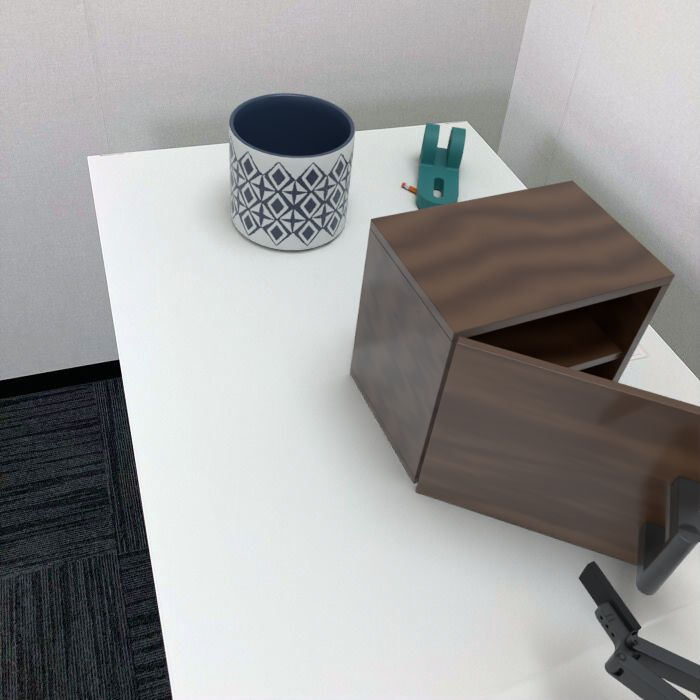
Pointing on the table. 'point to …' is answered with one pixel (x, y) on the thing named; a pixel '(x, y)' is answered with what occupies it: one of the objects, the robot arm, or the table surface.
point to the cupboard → (495, 298)
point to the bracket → (439, 167)
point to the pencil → (409, 187)
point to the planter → (290, 170)
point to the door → (568, 457)
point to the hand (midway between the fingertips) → (644, 544)
